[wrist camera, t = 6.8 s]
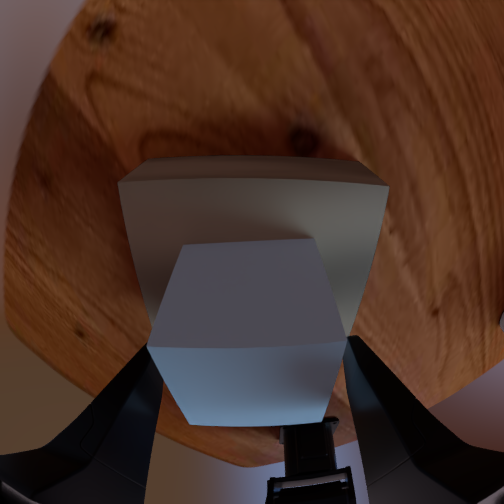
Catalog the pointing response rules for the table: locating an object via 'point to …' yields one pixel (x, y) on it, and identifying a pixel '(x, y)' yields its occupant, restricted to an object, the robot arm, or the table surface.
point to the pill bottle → (502, 322)
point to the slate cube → (249, 334)
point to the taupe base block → (254, 214)
